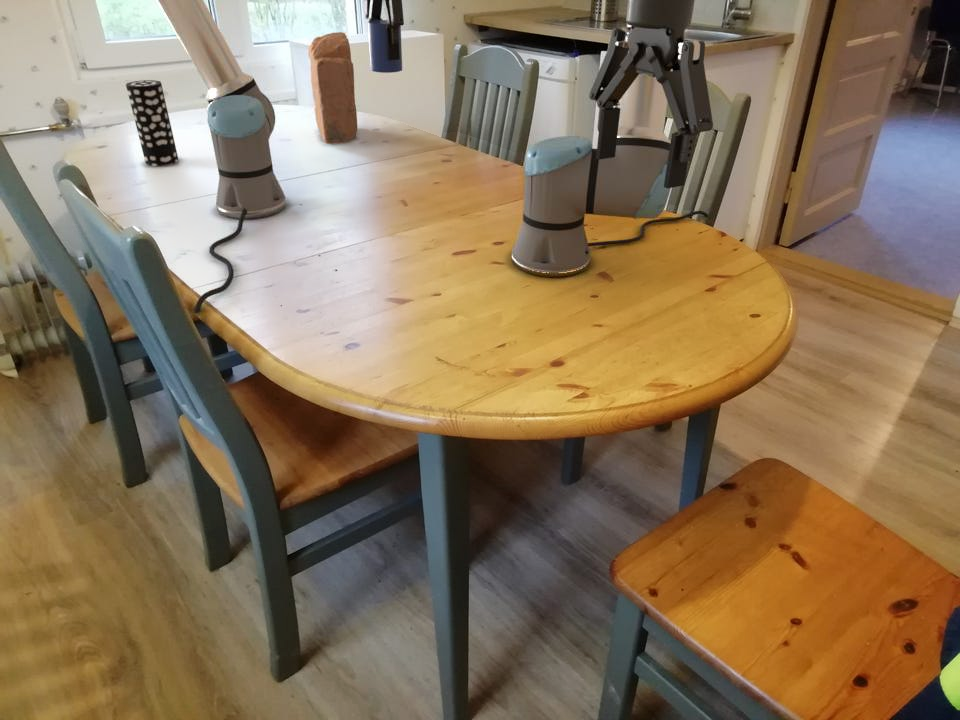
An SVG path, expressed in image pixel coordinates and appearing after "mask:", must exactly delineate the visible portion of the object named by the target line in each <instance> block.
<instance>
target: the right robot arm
mask: <svg viewBox="0 0 960 720" xmlns="http://www.w3.org/2000/svg"><path fill="white" fill-rule="evenodd" d="M695 1H696V0H627V5H626V16H625V22H626V27H613V28H612V30H611V34H610V39H609V46H608V48H607V50H606V52H605V56H604V58H603V60H602V61H601V65H600V67H599V70H598V72H597V75H596V77H595V79H594V82H593V85H592V87H591V89H590V91H589V95H588V96H589V97H588V98H589V99H590V100H591V101H595V102H596V105H597V108H598V109H599V110H598V118H597V119H598V120H597V127H596V128H597V132H598V136H597V145H596V146H597V147H596V148H593V144H592V141H591V140H590V138H587V137H586V136H585V137H583V136H582V137H581V136H578V135H577V136H576V135H565V136H555V137H549V138H545V139H542V140H540V141H536V142H535V143H533V144H532V145H530V147H529V148H528V150H527V152H526V156H525V163H524V164H525V166H524V169H523V174H524V185H523V187H524V188H523V207H522V222H521V225H520V227H519V230H518V232H517V233H518V234H517V236H516V239H515V242H514V244H513V246H512V249H511V262H512V264H513V265H514V266H515V267H516V268H517V269H519V270H520V271H522V272H524V273H527V274H530V275H533V276H539V277H546V278H564V277H571V276H574V275H578V274H580V273H582V272H584V271H585V270H587V269H588V268H589V266H590V263H591V250H590V247H597V246H599V247H601V246H609V245H621V244H630V243H634V242H637V241H640V240H641V239H642V238H644V237H645V228H646V227H647V226H649V225H651V224H658V223H667V222H676V221H681V220H682V221H683V220H684V219H688V218H690V217H693V216H695V215H702V216H704V217H705V218H708V217H709V214H708V212H706V211H703V210H695V211H692V212H689V213H686V214H684V215H680V216H676V217H666V218H658V217H660V216H661V215H662V214H663V212H664V211H665V208H666V205H667V202H668V199H669V196H670V193H671V189H673V188H679V187H682V186H683V187H684V186H685V183H686V177H687V172H688V165H689V162H692V160H693V158H694V151H695V146H696V140H697V136H698V135H699V134H700V133H705V132H710V131H712V129H713V128H714V121H713V116H712V107H711V101H710V95H709V89H708V82H707V76H706V69H705V63H704V61H705V51H706V42H705V41H704V40H702V39H701V40H691V41H685V31H686V29H687V28H688V27H689V26H690V25H691V23H692V19H693V13H694V7H695ZM668 107H669V109H670V113H671V115H672V118H673V122H674V124H675V127H676V131H675V132H672V133H671V136H670V137H671V138H670V139H669V138H668V136H667V135H666V133H665V124H666V117H667V110H668ZM586 215H594V216H605V217H606V216H607V217H618V218H628V219H629V218H630V219H634V220H637V219H650V220H647V221H645V222H643V223H642V224H641V226H640V234H639V235H637V236H636V237H632V238H627V239H618V240H606V241H605V240H604V241H595V242H594V241H593V242H592V241H591V242H589V241H588V237H587V233H586V230H585V216H586ZM585 265H586V266H585ZM584 266H585V267H584ZM582 267H583V268H582ZM580 268H582V269H580ZM529 269H530V270H529ZM577 269H579V270H577ZM532 270H534V271H532ZM572 270H576V271H573V272H567V271H572ZM537 271H539V272H537ZM542 272H546V273H542ZM547 272H549V273H547ZM559 272H567V273H559Z"/></svg>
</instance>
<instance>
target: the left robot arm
mask: <svg viewBox="0 0 960 720" xmlns="http://www.w3.org/2000/svg"><path fill="white" fill-rule="evenodd" d="M156 1H157V3H158V6H159V7H160V9H161V10H162V12H163V14H164V15H165V17H166V19H167V20H168V23H169V24H170V25H171V27H172V29H173V31H174V32H175V34H176V36H177V38H178V39H179V41H180V43H181V45H182V46H183V48H184V49H185V51H186V53H187V55H188V57H189V59H190V60H191V62H192V64H193V65H194V67H195V69H196V70H197V72H198V73H199V75H200V77H201V79H202V80H203V83H204V84H205V86H206V87H207V95H206V101H207V103H208V106H207V109H206V111H207V112H206V113H207V118H206V119H207V124H208V127H209V131H210V136H211V142H212V147H213V151H214V156H215V161H216V167H217V169H218V170H217V172H218V185H217V193H216V201H215V206H216V210H217V213H218V214H219V215H221V216H223V217H225V218H229V219H236V220H238V224H237V227H236V230H234V232H233V233H231V234H229V235H228V236H225V237H222V238H221V239H219V240H216V241H215V242H213V243H212V244H211V245H210V246H209V249H208V250H209V254H210V255H211V256H212V257H213V258H215V259H216V260H218V261H220V262H222V263H224V265H226V267H227V271H228V275H227V278H226V280H225V281H224V283H223V284H222V285H221V286H219V287H216V288H213V289H210V290H208V291H206V292H205V293H203V294H202V295H201V296H200V297H199V298H198V300H197V301H196V303H195V305H194V311H193V313H194V314H199V313H200V312H201V308H202V306H203V304H204V302H205V301H206V300H207V299H208V298H209V297H212V296H214V295H217V294H220V293H222V292H224V291H225V290H227V288H229V286H230V285H231V284H232V281H233V280H234V267H233V265H232V262H231V261H230V260H228V259H227V258H226V257H224V256H222V255H220V254H219V253H217V252H215V249H216V248H217V247H218V246H220V245H223V244H225V243H227V242H229V241H232V240H233V239H235V238H236V237H238V236H239V234H240V233H241V232H242V230H243V225H244V221H245V220H253V219H260V218H261V219H262V218H265V217H266V218H267V217H270V216H274V215H276V214H278V213H280V212H282V211H283V210H285V209H286V207H287V199H286V194H285V193H284V191H283V189H282V187H281V184H280V182H279V180H278V179H277V177H276V175H275V172H274V167H273V160H272V154H271V148H270V138H271V135H272V133H273V132H274V129H275V126H276V114H275V113H276V112H275V108H274V106H273V104H272V102H271V100H270V99H269V98H268V97H267V95H265V94H264V93H263V92H262V91H261V89H260V87H259V85H258V83H257V82H256V80H255V77H253V76H252V75H250V74H247V73H245V72H243V70H242V68H241V67H240V64H239V63H238V61H237V59H236V57H235V56H234V54H233V52H232V50H231V48H230V46H229V44H228V43H227V41H226V39H225V37H224V35H223V34H222V32H221V30H220V28H219V26H218V24H217V23H216V21H215V19H214V17H213V15H212V13H211V12H210V10H209V8H208V6H207V4H206V3H205V1H204V0H156ZM383 7H384V14H385V18H386V19H385V20H387V24H388V25H386V26H385V28H386V40H387V60H399V59H400V54H399V28H400V26H401V27H402V26H404V25H405V20H404V8H403V0H364V18H365V19H366V20H368V21H373V20H383V19H382V9H383Z"/></svg>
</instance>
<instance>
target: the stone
mask: <svg viewBox="0 0 960 720" xmlns="http://www.w3.org/2000/svg"><path fill="white" fill-rule="evenodd" d="M308 57H309V60H310V61H309V62H310V82H311V91H312V98H313V99H312V100H313V104H314V115H315V122H316V126H317V129H318V131H319V134H320V136H321V138H322V140H323V141H324V143H325V144H329V145H330V144H331V145H333V144H345V143H348V142H351V141H352V140H356V138H357V134H358V133H357V132H358V112H357V107H356V106H357V105H356V98H355V94H356V93H355V70H354V69H355V68H354V63H353V62H352V53H351V46H350V40H349V38H348V36H347V34H346V33H345V32H342V31H338V32H330V33H325V34H324V35H322V36H316V37H314V39H313V40H312V41H311V43H310V45H309V47H308Z"/></svg>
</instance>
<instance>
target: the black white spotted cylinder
mask: <svg viewBox="0 0 960 720" xmlns="http://www.w3.org/2000/svg"><path fill="white" fill-rule="evenodd" d="M125 87H126V91H127V95H128V99H129V103H130V107H131V110H132V115H133V118H134V122H135V123H134V124H135V127H136V130H137V134H138V139H139V143H140V146H141V150H142V155H143V158H144V163H145V164H146V165H147V166H151V167H164V166H170V165H174V164H176V163H178V162H179V155H178V150H177V146H176V142H175V137H174V133H173V128H172V125H171V121H170V116H169V111H168V107H167V103H166V98H165V93H164V89H163V84H162V81H161V80H155V79H154V80H153V79H151V80H150V79H145V80H144V79H141V80H134V81H130V82H129V81H128V82H127V83H126V84H125Z"/></svg>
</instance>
